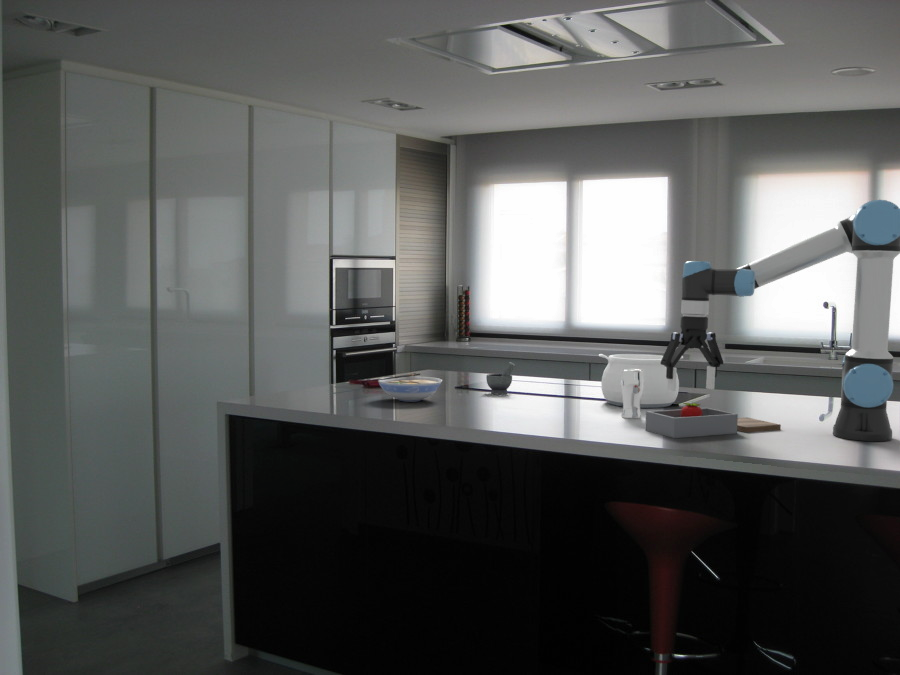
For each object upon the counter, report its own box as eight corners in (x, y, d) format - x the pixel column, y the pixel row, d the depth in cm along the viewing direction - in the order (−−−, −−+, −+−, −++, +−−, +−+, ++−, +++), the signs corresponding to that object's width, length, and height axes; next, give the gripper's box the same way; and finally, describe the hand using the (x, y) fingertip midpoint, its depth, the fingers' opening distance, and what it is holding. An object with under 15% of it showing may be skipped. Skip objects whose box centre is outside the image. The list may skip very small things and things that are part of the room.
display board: (780, 429, 259) (780, 424, 259) (745, 432, 254) (745, 427, 254) (746, 422, 272) (747, 417, 272) (712, 424, 267) (713, 419, 267)
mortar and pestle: (481, 393, 331) (482, 361, 330) (492, 391, 339) (492, 359, 338) (509, 396, 326) (510, 363, 325) (519, 393, 334) (520, 361, 333)
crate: (737, 433, 252) (737, 414, 252) (673, 438, 244) (674, 418, 243) (706, 426, 264) (707, 407, 264) (645, 430, 255) (646, 411, 255)
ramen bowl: (412, 407, 294) (412, 383, 293) (361, 401, 307) (361, 377, 307) (457, 400, 313) (457, 377, 313) (407, 394, 327) (408, 372, 327)
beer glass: (626, 419, 275) (627, 371, 274) (616, 415, 281) (617, 369, 280) (646, 418, 277) (647, 370, 276) (636, 415, 283) (637, 368, 282)
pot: (675, 400, 321) (677, 352, 319) (688, 410, 294) (689, 359, 293) (594, 397, 324) (596, 350, 322) (599, 408, 297) (601, 357, 296)
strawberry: (676, 432, 252) (677, 397, 251) (684, 428, 259) (685, 395, 258) (697, 434, 249) (698, 399, 248) (705, 431, 255) (706, 396, 255)
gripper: (720, 315, 260) (717, 386, 261) (650, 314, 250) (646, 389, 252) (738, 316, 253) (734, 390, 255) (666, 316, 243) (663, 392, 245)
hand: (691, 389), depth 253 cm, fingers open, 13 cm apart
